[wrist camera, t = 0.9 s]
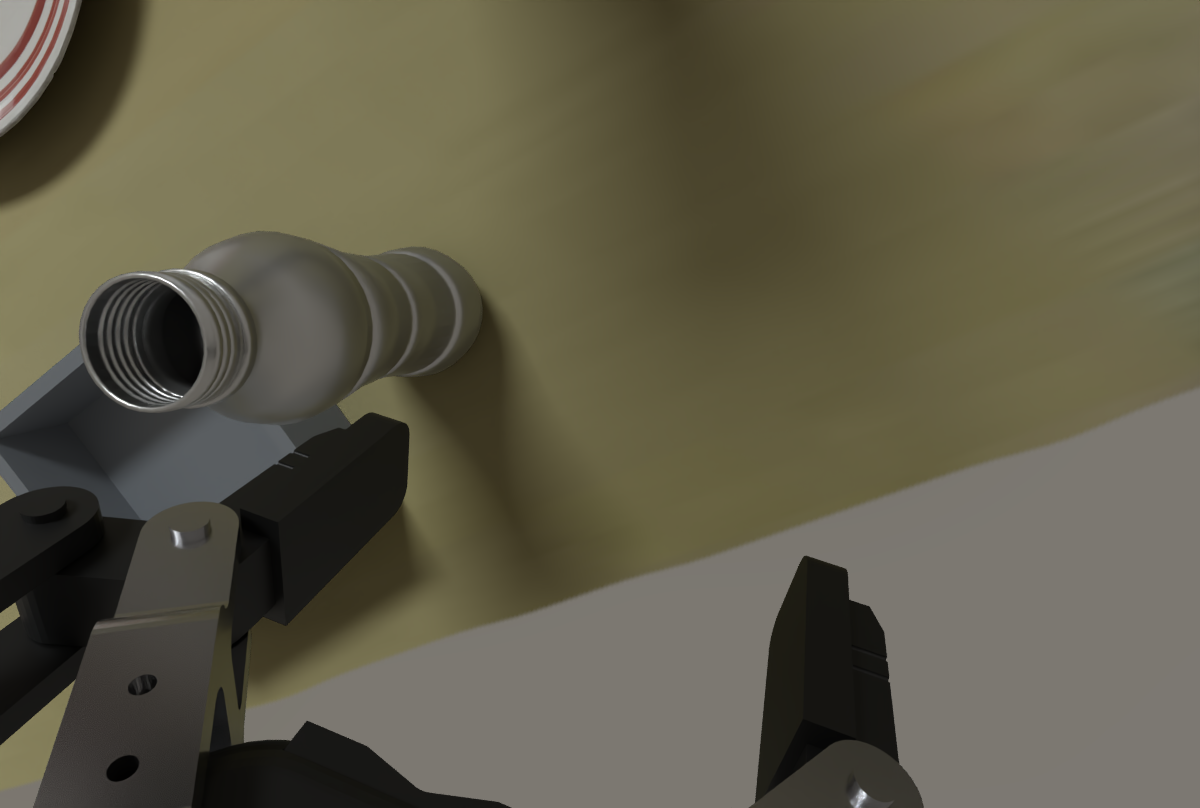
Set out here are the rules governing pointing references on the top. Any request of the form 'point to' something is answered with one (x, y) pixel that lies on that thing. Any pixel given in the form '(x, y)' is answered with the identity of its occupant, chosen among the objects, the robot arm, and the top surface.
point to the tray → (135, 446)
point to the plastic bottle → (276, 327)
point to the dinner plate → (31, 51)
